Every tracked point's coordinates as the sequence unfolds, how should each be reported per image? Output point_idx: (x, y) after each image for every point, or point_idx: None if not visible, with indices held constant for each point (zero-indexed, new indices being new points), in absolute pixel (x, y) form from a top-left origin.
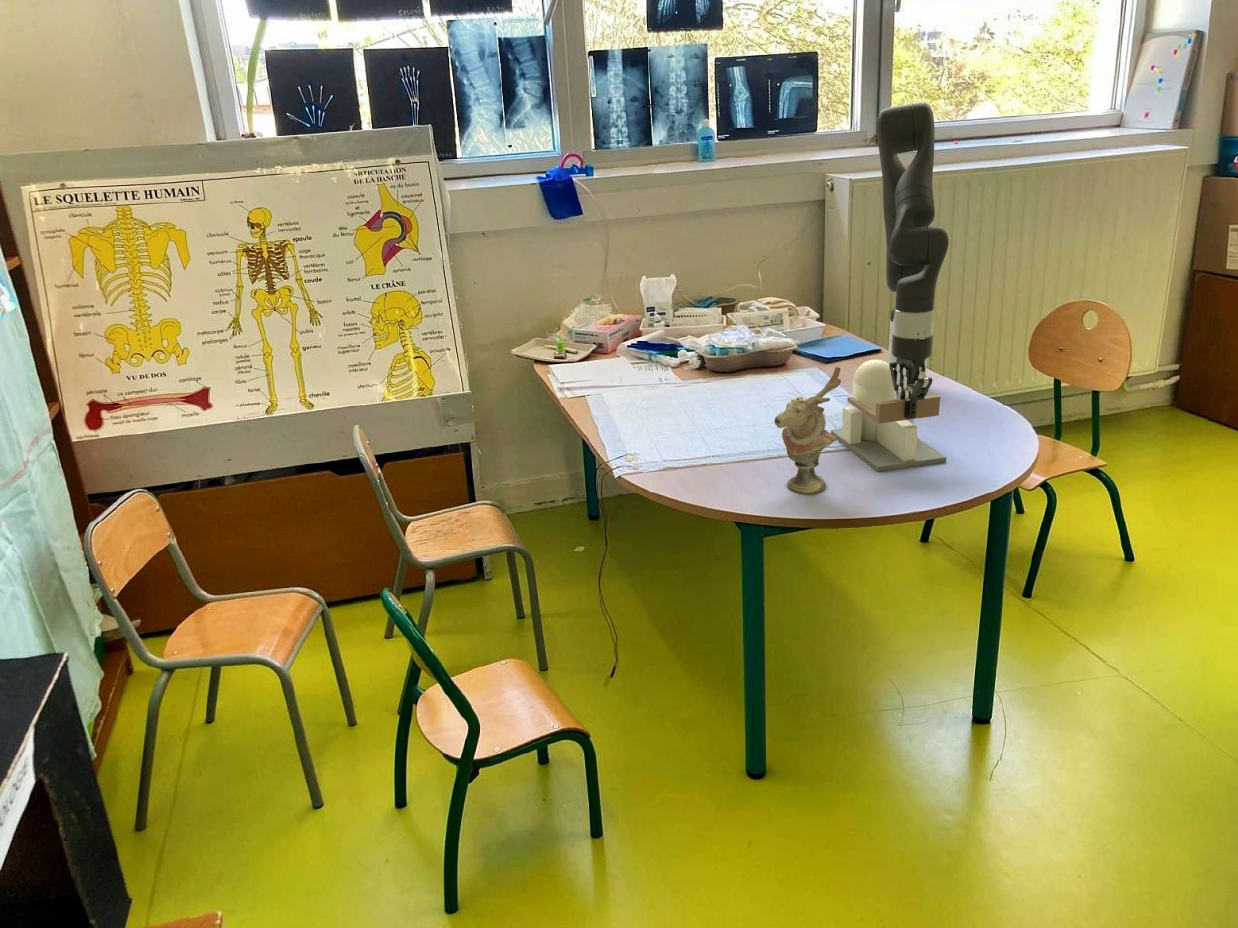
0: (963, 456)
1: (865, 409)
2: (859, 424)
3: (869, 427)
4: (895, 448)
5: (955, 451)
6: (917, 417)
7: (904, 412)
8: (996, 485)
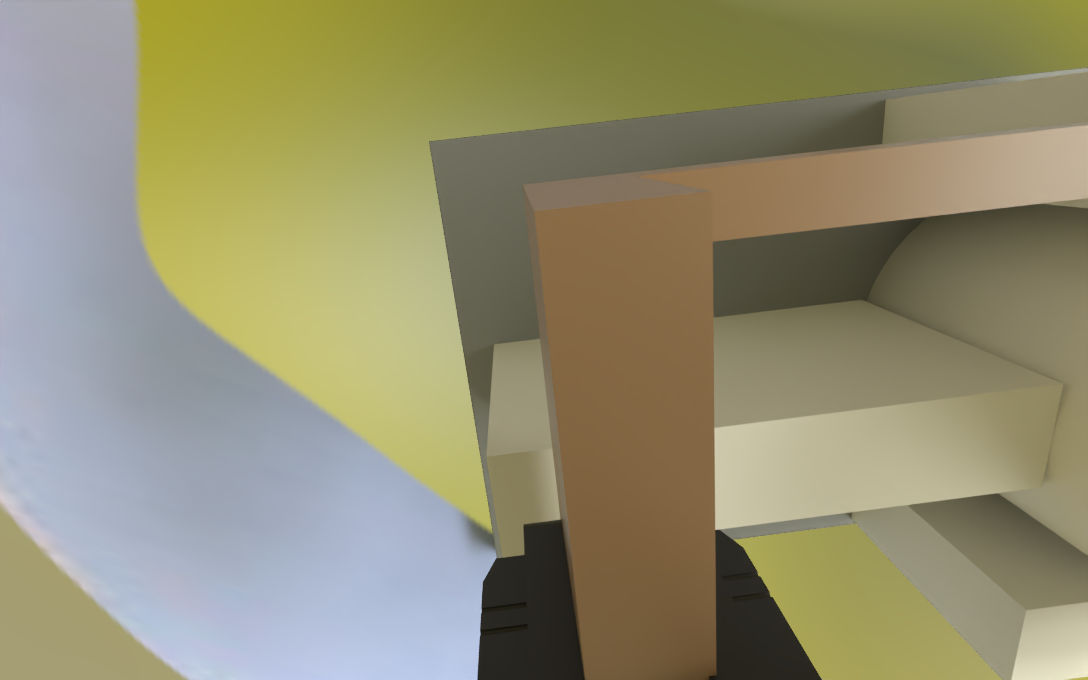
0: None
1: (965, 140)
2: None
3: (963, 274)
4: None
5: None
6: None
7: (562, 554)
8: (171, 652)
